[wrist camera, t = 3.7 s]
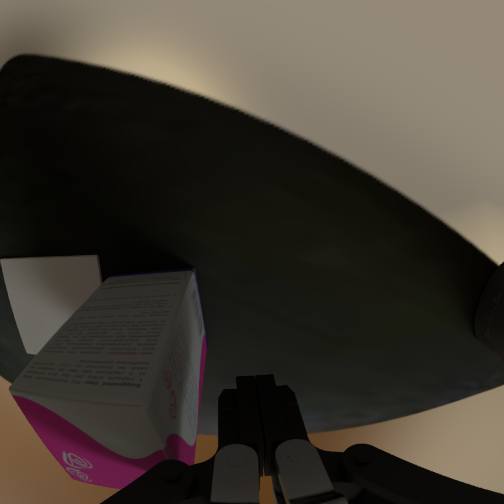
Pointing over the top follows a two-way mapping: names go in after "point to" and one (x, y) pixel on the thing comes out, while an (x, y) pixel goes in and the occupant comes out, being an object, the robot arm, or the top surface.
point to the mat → (48, 292)
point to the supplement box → (121, 379)
